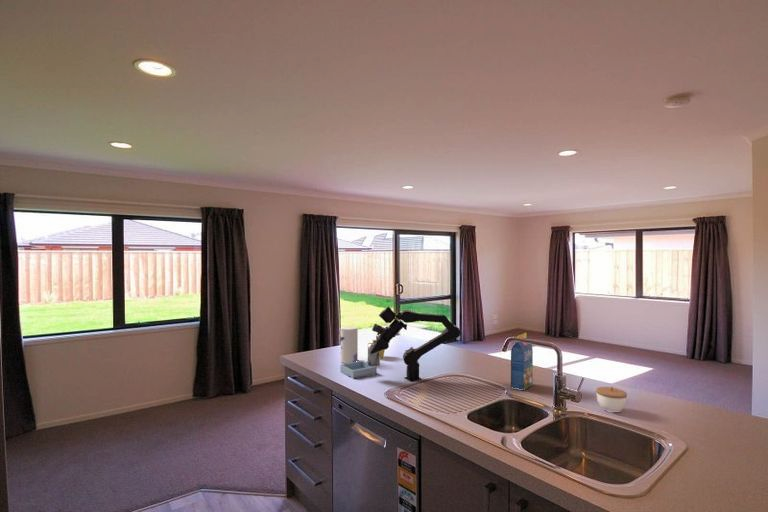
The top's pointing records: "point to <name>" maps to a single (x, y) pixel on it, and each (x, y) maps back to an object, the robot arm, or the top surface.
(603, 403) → the lidded jar
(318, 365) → the top surface
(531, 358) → the blue food package
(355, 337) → the container
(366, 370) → the bin
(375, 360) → the metallic can
